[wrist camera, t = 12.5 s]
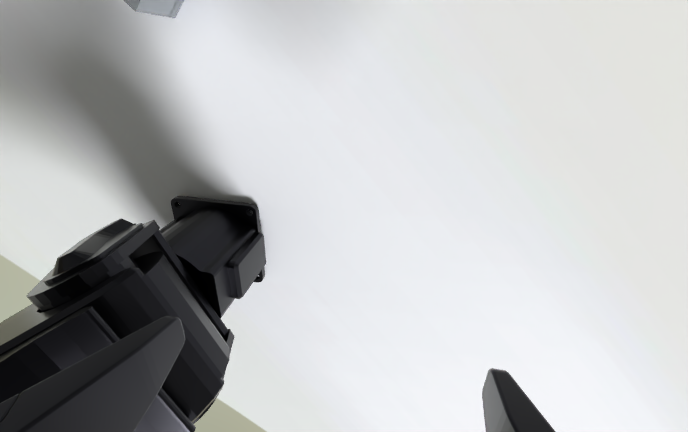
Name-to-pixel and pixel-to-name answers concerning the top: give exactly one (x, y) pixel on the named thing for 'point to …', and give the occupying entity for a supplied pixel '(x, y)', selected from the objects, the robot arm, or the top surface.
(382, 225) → the top surface
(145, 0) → the tray
